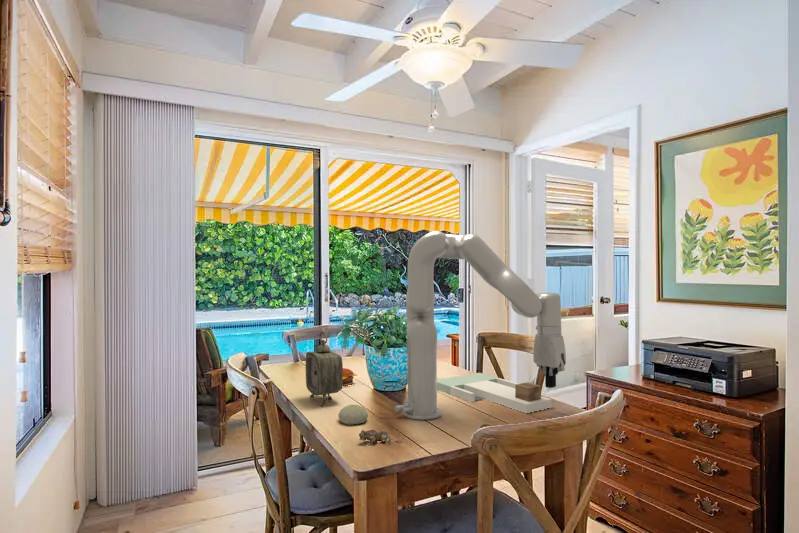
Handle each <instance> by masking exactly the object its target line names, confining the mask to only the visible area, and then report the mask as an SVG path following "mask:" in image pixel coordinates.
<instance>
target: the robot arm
mask: <svg viewBox="0 0 799 533" xmlns="http://www.w3.org/2000/svg"><path fill="white" fill-rule="evenodd" d="M437 259H447V260H448V259H449V260H450V259H451V260H465V261H466V263H468V264H469V265H470V266H471V268H473V270H474V271H475V272H476V273H477V274H478V275H479V276H480V277H481V278H482V279H483V281H485V282H486V283H487V284H488V285H489V286H490V287H492V288H494V289H495V290H497V291H498V292H500V294H502V295H503V296H504V297H505V298H506V299H507V300H508V301H509V302H510V306H511V308H512V310H513V312H514V313H516V314H517V315H520V316H522V317H523V318H524V317H525V318H529V319H533V318H536V326H535V329H536V331H537V333H536V334H535V337H534V341H533V363H534V364H535V365H536V367H537V368H540V369H541V371H542V372H543V375H545V376H544V378H545V379H544V380H545V381H544V383H545V388H549V389H552V388H556V387H557V376H558V373H559V372H565V371H566V369H565V367H566V362H567V352H566V345H565V344H566V343H565V339H564V336H563V334H562V308H561V307H562V305H561V304H562V303H561V302H562V301H561V295H560V294H559V293H556V292H540V293H535V291H534V290H533V289H532V288H530V286H528V284H527V283H526V282H525V281H524V280H523V279H522V278H521V277H520V276H518V274H516V273H515V271H513V270H512V269H511V267H509V266H508V265H507V264H506V262H504V261H503V260H502V259H501V258H500V257H499V256H498V255H497V254H496V253H495V252H494V250H493V249H492V248H491V247H490V246H489V245H488V244H487V243H486V241H484V240H483V239H482V238H481V237H480V236H479V235H477V234H475V233H467V234H449V233H448V234H447V233H445V232H442V231H440V230H433V231H429V232H427V233H426V234H424V235H423V236H421V237H420V238H419V239H418V240H417V241H416V242H415V243H414V244H413V246H412V247H411V249H410V252H409V254H408V259H407V278H406V279H407V292H406V294H405V306H406V342H407V344H406V345H407V346H406V347H407V350H406V351H407V356H406V358H407V360H406V361H407V362H406V363H407V364H406V365H407V400H404V403H403V404H399V405H398V404H397V405H395V406H394V411H395V413H398V412H402V415H403V416H404V417H405V418H408V419H412V420H419V421H420V420H421V421H425V420H427V421H428V420H434V419H437V418H440V417H441V416H442V414H443V413H442V411H443V410H442V409H440V408H439V407H438V398H437V397H438V395H437V394H438V390H437V379H438V378H437V377H438V376H437V375H438V374H437V371H438V370H437V358H438V357H437V356H438V354H437V350H438V349H437V348H438V330H437V327H436V324H435V311H434V310H435V309H434V308H435V302H436V295H435V286H434V285H435V283H434V275H435V274H434V267H435V262H436V260H437Z"/></svg>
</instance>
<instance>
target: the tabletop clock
mask: <svg viewBox="0 0 799 533" xmlns="http://www.w3.org/2000/svg"><path fill="white" fill-rule="evenodd" d="M322 334H323V335H324V337H325V339H322V338H321V337H322ZM318 337H319V342H320V343H321V344H318V346H317V347H316V351H307V352H306V355H305V386H306V389H307V390H308V391H309V392H310V393H311V394H310V396H309V398H310V399H311V398H313V399H314V398H315V396H322V399H321V401H320V403H319V405H320V406H321V405H322V406H321V407H324V406H325V399H326V398H327V399H326V400H327V401H328V400H331V401H332V400H333V399H332V396H330V394H337V393H338V392H340V391H342V390H343V387H342V385H343V368H344V367H343V358H342V356H341V355H340V354H338V353H336V352H335V351H332V350H331V348H330V346H329V345H328V344H327V342H328V336H327V333H326V332H325V331H320V332H319V336H318ZM326 396H327V397H326ZM323 405H324V406H323Z"/></svg>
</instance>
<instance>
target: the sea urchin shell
mask: <svg viewBox="0 0 799 533" xmlns="http://www.w3.org/2000/svg"><path fill="white" fill-rule="evenodd" d="M368 414H369V413H368V411H367V409H366V408H365V407H364V406H362V405H359V404H348V405H346V406H344V407H343V408H341V409H340V410H339V413H338V414H337V415H338V419H339V421H340V422H341V423H343V424H344V425H350V426H351V425H354V424H355V425H359V424H360V425H361V423H362V424H364V423H365V422H366V421H367V420H368V417H369V415H368Z"/></svg>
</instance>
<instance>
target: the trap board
mask: <svg viewBox="0 0 799 533" xmlns="http://www.w3.org/2000/svg"><path fill="white" fill-rule="evenodd" d="M516 384H520V383H518V382H515V381H511V380H507V379H504V378H500V377H496V376H494V375H493V376H492V375H489V374H486V373H484V372H483V373H482V372H476V373H475V372H474V373H469V374H463V375H456V376H450V377H445V378H437V391H439V390H440V392H442V393H444V392H445V394H447V393H448V395H450V394H451V396H453V397H455V396H456V398H458V397H459V398H458V399H461V398H462V399H461V400H464V399H465V401H466V400H467V402H469V401H470V403H475V402H479V401H478V400H480V401H483V400H482V399H487V400H486V401H488V400H490V401H489V402H491V401H492V403H494V402H495V403H494V404H497V403H498V404H497V405H500V404H501V405H500V406H502V405H504V406H503V407H505V406H506V408H508V407H509V409H511V408H512V410H514V409H515V410H514V411H517V410H518V411H517V412H520V411H521V412H520V413H523V412H524V413H523V414H526V413H528V414H531V413H530V412H532V413H535V412H534V411H537V412H540V411H539V410H541V411H544V409H545V410H548V409H547V408H549V409H552V408H553V407H552V405H553V404H552V403H553V400H552V398H549V397H546V396H542V395H541V399H539V400H535V401H530V402H528V401H524V400H521V399H518V398H515V385H516ZM474 401H475V402H474Z"/></svg>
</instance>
